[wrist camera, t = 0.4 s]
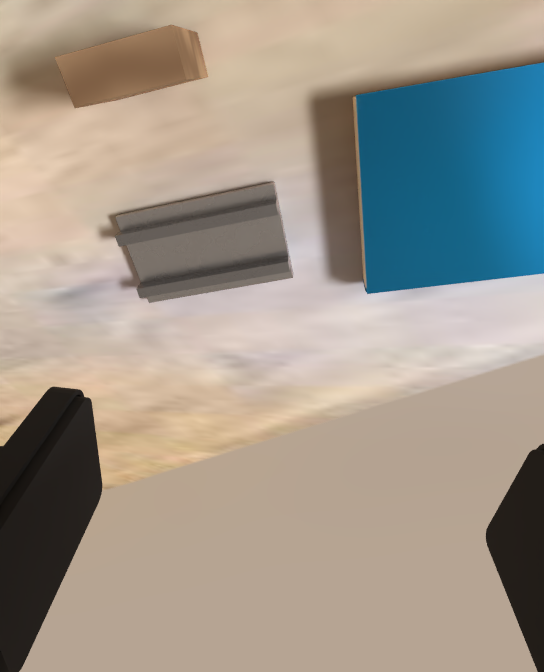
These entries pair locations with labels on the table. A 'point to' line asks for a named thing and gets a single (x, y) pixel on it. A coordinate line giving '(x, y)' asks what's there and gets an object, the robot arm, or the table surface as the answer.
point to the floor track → (207, 243)
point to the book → (451, 180)
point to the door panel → (132, 65)
